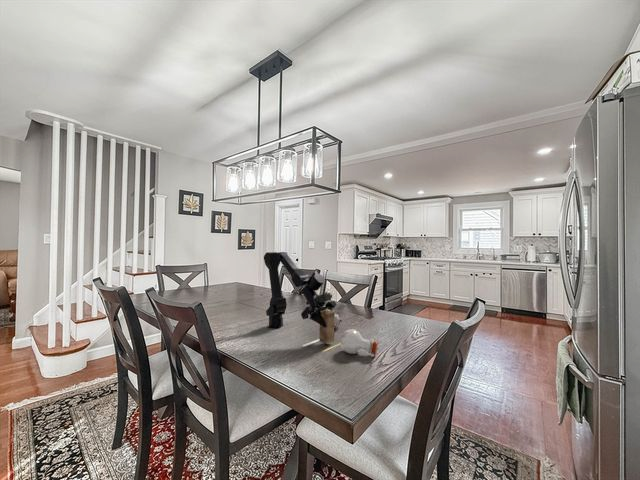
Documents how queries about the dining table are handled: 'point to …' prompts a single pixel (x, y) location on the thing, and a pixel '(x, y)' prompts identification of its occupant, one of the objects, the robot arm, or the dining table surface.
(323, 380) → the dining table surface
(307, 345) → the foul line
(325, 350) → the strip
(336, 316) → the game die
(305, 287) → the robot arm
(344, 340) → the potion bottle
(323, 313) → the walnut block
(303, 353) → the dining table surface
